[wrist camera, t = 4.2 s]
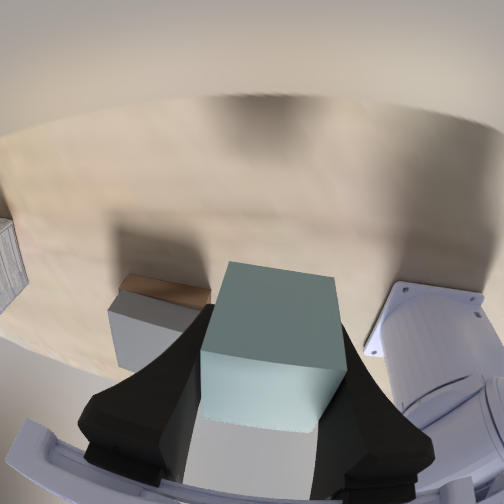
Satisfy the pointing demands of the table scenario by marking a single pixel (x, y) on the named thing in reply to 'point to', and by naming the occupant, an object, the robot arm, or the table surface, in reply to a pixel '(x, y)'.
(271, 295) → the teal block
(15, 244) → the medicine box
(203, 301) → the walnut block
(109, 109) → the table surface
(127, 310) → the gray block
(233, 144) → the table surface
